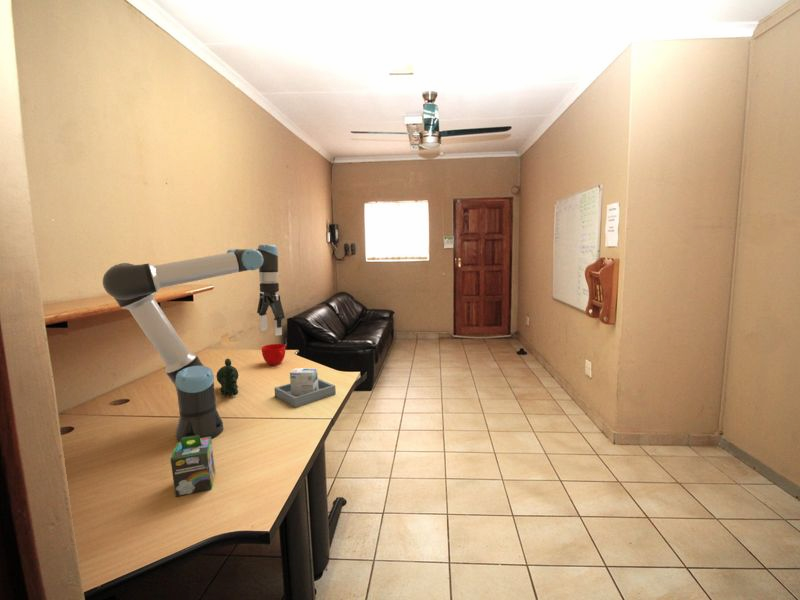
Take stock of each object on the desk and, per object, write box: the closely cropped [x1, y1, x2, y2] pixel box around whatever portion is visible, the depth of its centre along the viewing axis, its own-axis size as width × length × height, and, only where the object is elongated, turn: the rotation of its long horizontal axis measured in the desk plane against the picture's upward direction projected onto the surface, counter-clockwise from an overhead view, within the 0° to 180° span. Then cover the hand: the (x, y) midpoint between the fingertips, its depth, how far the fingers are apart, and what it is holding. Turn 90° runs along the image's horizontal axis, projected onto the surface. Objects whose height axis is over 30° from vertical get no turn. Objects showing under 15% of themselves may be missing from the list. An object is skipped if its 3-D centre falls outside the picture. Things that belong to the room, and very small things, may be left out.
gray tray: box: [274, 378, 336, 408], centre depth 173 cm, size 20×18×4 cm
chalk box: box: [170, 435, 216, 498], centre depth 108 cm, size 9×9×15 cm
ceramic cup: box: [261, 343, 286, 366], centre depth 220 cm, size 13×17×10 cm
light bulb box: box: [289, 367, 319, 395], centre depth 173 cm, size 11×7×11 cm, turn 84°
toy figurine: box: [216, 358, 239, 397], centre depth 179 cm, size 9×19×25 cm
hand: (270, 332), depth 163 cm, fingers open, 13 cm apart
